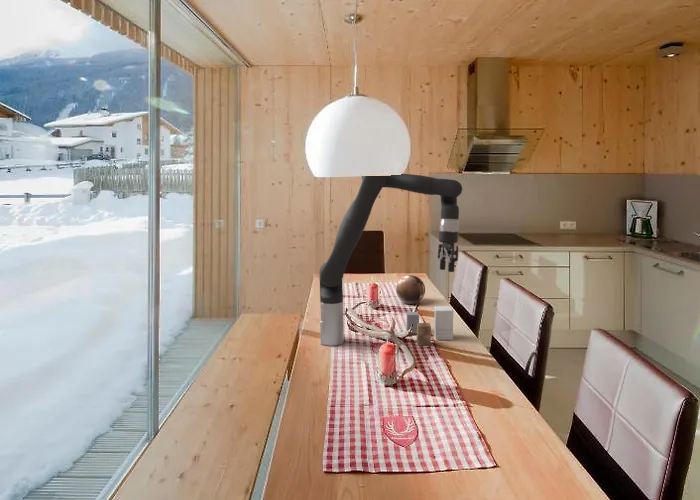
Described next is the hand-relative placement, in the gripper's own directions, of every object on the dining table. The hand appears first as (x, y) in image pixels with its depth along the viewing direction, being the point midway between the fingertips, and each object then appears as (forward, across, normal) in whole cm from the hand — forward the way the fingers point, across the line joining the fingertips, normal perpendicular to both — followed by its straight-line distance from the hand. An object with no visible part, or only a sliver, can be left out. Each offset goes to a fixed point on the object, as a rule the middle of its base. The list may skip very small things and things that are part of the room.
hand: (446, 270), depth 213 cm
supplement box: (+29, -6, +3) cm, 30 cm away
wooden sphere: (+23, -64, +9) cm, 68 cm away
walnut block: (+30, -1, -8) cm, 31 cm away
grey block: (+28, -18, -6) cm, 34 cm away
